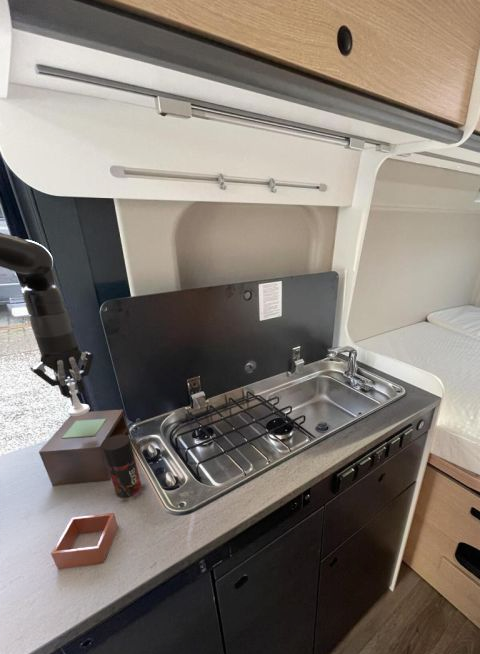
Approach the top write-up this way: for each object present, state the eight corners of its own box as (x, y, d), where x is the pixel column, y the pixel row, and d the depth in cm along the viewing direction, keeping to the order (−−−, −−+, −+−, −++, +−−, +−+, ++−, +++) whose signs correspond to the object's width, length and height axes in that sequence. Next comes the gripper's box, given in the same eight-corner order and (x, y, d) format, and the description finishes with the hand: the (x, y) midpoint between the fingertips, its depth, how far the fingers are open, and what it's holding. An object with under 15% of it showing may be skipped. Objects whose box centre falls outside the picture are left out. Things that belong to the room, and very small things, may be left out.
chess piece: (90, 412, 86) (80, 378, 82) (68, 418, 83) (56, 383, 79) (89, 404, 90) (79, 371, 85) (67, 409, 87) (56, 376, 83)
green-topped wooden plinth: (52, 485, 85) (38, 451, 80) (82, 442, 101) (72, 412, 96) (109, 480, 87) (99, 446, 82) (130, 439, 103) (123, 408, 98)
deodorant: (123, 480, 87) (110, 434, 81) (145, 481, 87) (134, 434, 81) (111, 497, 82) (96, 449, 75) (134, 498, 81) (121, 450, 75)
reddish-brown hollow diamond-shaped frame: (57, 569, 65) (50, 554, 63) (77, 531, 73) (71, 517, 71) (103, 563, 66) (98, 548, 64) (118, 527, 74) (114, 512, 72)
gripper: (78, 321, 84) (95, 381, 92) (12, 335, 74) (36, 400, 81) (92, 327, 80) (108, 388, 88) (23, 342, 70) (48, 410, 77)
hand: (73, 394), depth 84 cm, fingers closed on chess piece
